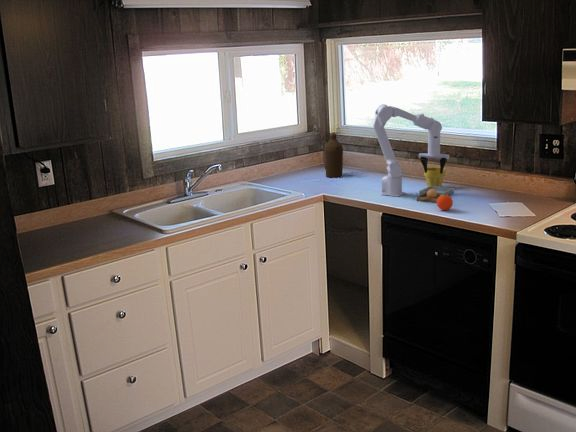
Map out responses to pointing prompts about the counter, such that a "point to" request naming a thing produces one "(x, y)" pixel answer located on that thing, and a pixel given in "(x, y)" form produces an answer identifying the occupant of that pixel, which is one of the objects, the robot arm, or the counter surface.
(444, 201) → the clementine
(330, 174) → the olive oil
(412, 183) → the counter surface
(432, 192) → the ball
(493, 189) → the counter surface
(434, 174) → the plant pot
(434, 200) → the tray
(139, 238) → the counter surface
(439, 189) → the dish
